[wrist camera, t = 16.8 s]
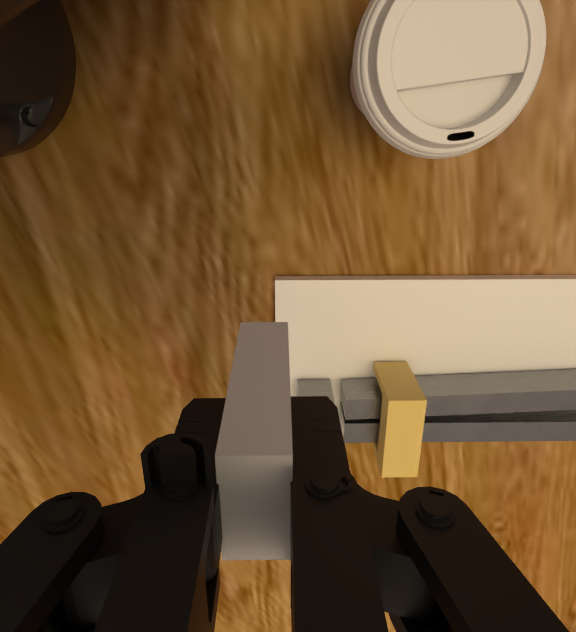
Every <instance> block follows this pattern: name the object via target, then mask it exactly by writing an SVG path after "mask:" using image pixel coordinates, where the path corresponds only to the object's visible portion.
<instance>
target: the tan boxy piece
mask: <svg viewBox="0 0 576 632" xmlns="http://www.w3.org/2000/svg"><path fill="white" fill-rule="evenodd" d="M373 370H374V373H375V376H376V378H377V381H378V384H379V386H380V389H381V392H382V407H381V418H380V430H379V441H378V442H372V445H373V448H374V452H375V455H376V459H377V462H378V466H379V470H380V473H381V477H417V475H418V467H419V459H420V451H421V443H422V436H423V428H424V420H425V412H426V404H427V400H426V398H425V396H424V394H423V392H422V390H421V388H420V386H419V384H418V382H417V380H416V378H415V376H414V374H413V372H412V371H411V369H410V367H409V365H408V363H407V362H374V368H373Z"/></svg>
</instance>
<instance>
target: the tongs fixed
mask: <svg viewBox="0 0 576 632" xmlns="http://www.w3.org/2000/svg"><path fill="white" fill-rule="evenodd" d="M298 396H328V398H329V399H330V400H331V401H332V402H333V403H334V396H333V391H332V386H331V381H330V380H298ZM339 419H340V424H341V429H342V434H343V439H344V443H363V442H378V441H379V430H380V418H376V419H353V420H345V416H344V411H343V407H342V402H340V414H339ZM480 441H576V410H558V411H535V412H512V413H490V414H467V415H444V416H425V420H424V428H423V436H422V442H480Z"/></svg>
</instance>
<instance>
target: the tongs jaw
mask: <svg viewBox="0 0 576 632" xmlns="http://www.w3.org/2000/svg"><path fill="white" fill-rule="evenodd" d="M415 378H416V380H417V382H418V384H419V386H420V388H421V390H422V392H423V394H424V396H425V398H426V400H427V404H426V412H425V416H444V415H467V414H490V413H512V412H535V411H558V410H576V369H568V370H545V371H522V372H500V373H477V374H454V375H432V376H415ZM341 402H342V407H343V411H344V416H345V420H353V419H376V418H381V407H382V392H381V389H380V386H379V384H378V381H377V378H364V379H341Z"/></svg>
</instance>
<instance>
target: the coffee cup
mask: <svg viewBox="0 0 576 632" xmlns="http://www.w3.org/2000/svg"><path fill="white" fill-rule="evenodd" d="M545 48H546V24H545V18H544V13H543V9H542V6H541V3H540V0H371V1H370V3H369V4H368V6H367V8H366V10H365V12H364V15H363V17H362V19H361V22H360V25H359V28H358V31H357V35H356V39H355V44H354V51H353V64H352V67H351V72H350V90H351V94H352V97H353V100H354V102H355V104H356V106H357V108H358V109H359V110H360V112H361V113H362V114H363V115H364V116H365V117H366V119H367V120H368V122H369V123H370V125H371V126H372V127H373V129H374V130H375V131H376V132H377V133H378V134H379V135H380V136H381V137H382V138H383V139H384V140H385V141H386V142H387V143H389V144H390V145H392V146H393V147H395V148H396V149H398V150H400V151H402V152H404V153H407V154H410V155H413V156H416V157H421V158H428V159H444V158H451V157H456V156H460V155H463V154H466V153H469V152H471V151H473V150H476V149H478V148H480V147H481V146H483V145H485V144H486V143H488V142H490V141H491V140H493V139H494V138H495V137H497V136H498V135H499V134H500V133H502V132H503V131H504V130H505V129H506V128H507V127H508V126H509V125H510V124H511V123H512V122H513V121H514V120H515V118H516V117H517V116H518V115H519V113H520V112H521V111H522V109H523V108H524V106H525V105H526V103H527V102H528V100H529V98H530V96H531V94H532V92H533V90H534V88H535V86H536V84H537V81H538V78H539V76H540V72H541V69H542V65H543V60H544V55H545Z"/></svg>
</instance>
